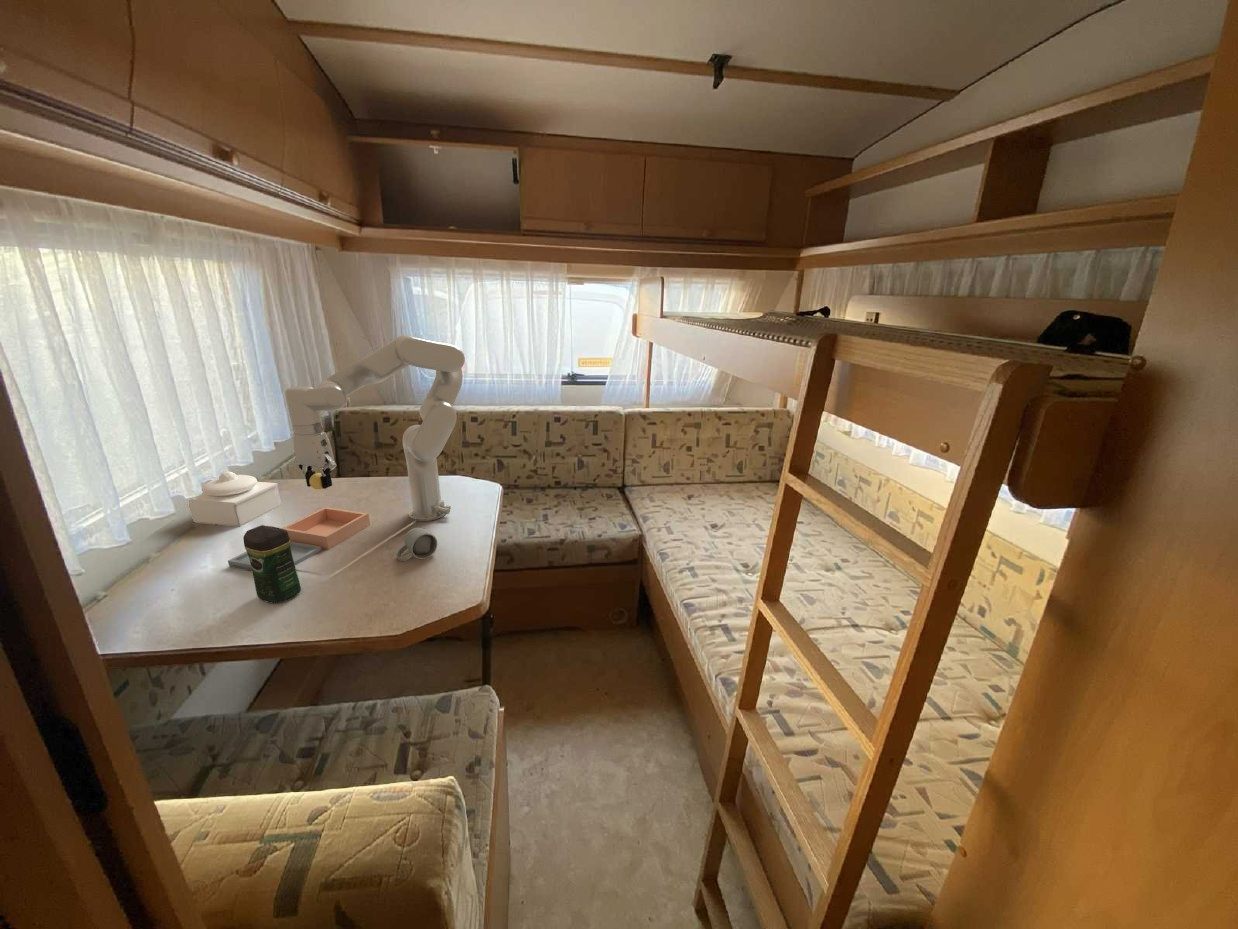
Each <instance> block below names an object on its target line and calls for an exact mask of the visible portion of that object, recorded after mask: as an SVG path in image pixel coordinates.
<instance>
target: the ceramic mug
mask: <svg viewBox="0 0 1238 929" xmlns="http://www.w3.org/2000/svg"><path fill="white" fill-rule="evenodd" d="M403 543H404V545H402V546H401V548H399V549H398V550H397V552H396V558H397V559H398V560H399V561H400V562H406V561H408V560H410V559H412V558H413V557H414V558H416V559H418V560H423V559H424V560H425V559H428V558H430V557H431V556H433V555H434V554H435V553H436V550H437V549H438V548H437V547H438V539H437V538H436V536H435V535H434V534H432V533H431V532H430V531H428V530H426V529H425V528H422V527H413V528H411V529H409V530H408V531H407V532H406V533H405V535H404V537H403ZM407 550H408V551H409V552H408V553H407V554H405V555H403V556H402V554H404V553H405V551H407Z"/></svg>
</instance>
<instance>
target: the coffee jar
mask: <svg viewBox="0 0 1238 929" xmlns="http://www.w3.org/2000/svg"><path fill="white" fill-rule="evenodd" d="M281 528H282V527H281ZM281 528H280V527H276V526H273V525H272V526H271V525H270V526H269V525H265V524H262V525H258V526H256V527H252V528H251V529H248V530H246V531H245V533H244V535H243V546H244V549H245V552H246V551H247V554H248V556H249V559H250V563H251V568H252V571H251V573H252V576H253V582H254V587H255V591H256V592H255V593H256V595H257V598H258V599H260V600H261V601H264V602H266V603H269V604H280V603H282V602H287V601H290V600H291V599H293V598H295V597H296V596H297V595H298V594H300V592H301V590H302V587H301V584H300V579H299V576H298V573H297V569H296V565H294V561H293V557H292V553H291V547H290V543H291V542H290V538H289V535H288V532H287V530H284V529H281Z"/></svg>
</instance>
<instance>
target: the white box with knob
mask: <svg viewBox="0 0 1238 929" xmlns="http://www.w3.org/2000/svg"><path fill="white" fill-rule="evenodd" d="M218 476H219V477H218V478H215V479H213V480H210V481H208V482H207V483H206V484H204V485H203V486H202V492H201V493H202V495H201V496H197V497H195V498H193V499H191V500H189V507H188V509H189V508H190V510H189V512H190V511H191V514H192V517H191V519H193V521H195V524H205V525H215V524H218V525H217V526H226V527H227V526H228V527H239V528H240V527H242V526H245V525H247V524H248V523H250V522H252V521H254V520H256V519H258V518H260V517H262V516H265V515H266V514H268V513H270V512H272V511H273V510H276V509H278V508H279V507H282V501H281V497H280V492H279V488H278V486H279V484H278V482H268V481H267V482H266V481H265V482H264V481H258V479H257V477H255V476H251V475H248V474H236V473H235V472H232V471H229V470H228V471H224V472H221V473H220V475H218ZM191 514H190V515H191ZM193 521H192V522H193Z"/></svg>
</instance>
